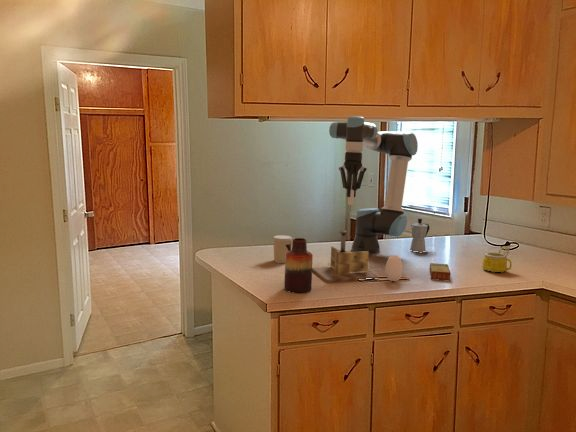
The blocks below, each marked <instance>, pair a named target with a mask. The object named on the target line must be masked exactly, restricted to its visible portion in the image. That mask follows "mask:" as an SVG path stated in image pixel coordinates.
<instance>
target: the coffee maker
mask: <svg viewBox="0 0 576 432" xmlns="http://www.w3.org/2000/svg"><path fill="white" fill-rule="evenodd" d="M422 221H423V218H418V219H417V222H416V223H412V224H411V225H410V226H411V227H410V228H411V236H412V239H411V245H410V248H409V251H410V250H412V251H418V252H423V251H426V239H425V238H427V235H428V233H429V231H430V225H429V224H428V223H424V222H422Z"/></svg>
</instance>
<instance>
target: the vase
mask: <svg viewBox="0 0 576 432" xmlns="http://www.w3.org/2000/svg"><path fill="white" fill-rule="evenodd" d="M313 256H314V255H313V253H312V252H310V251H309V250H308V247H307V239H306V238H304V237H295V238H294V237H293V238H292V247H291V251H288V252H287V253H286V254H285V263H284V290H285V291H286V290H287V291H286V292H288V291H290V292H289V293H292V292H294V293H293V294H306V293H309V292H311V291H312V283H313V277H312V276H313V272H312V268H313Z"/></svg>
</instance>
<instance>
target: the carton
mask: <svg viewBox="0 0 576 432" xmlns="http://www.w3.org/2000/svg"><path fill="white" fill-rule="evenodd" d="M428 269H429V270H430V271H429V275H430V276H431V277H430V280H432V279H439V280H438V281H443V280H449V281H448V282H451V270H450V266H449V264H447V263H433V262H430V263H429V268H428Z"/></svg>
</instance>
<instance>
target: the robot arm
mask: <svg viewBox="0 0 576 432" xmlns="http://www.w3.org/2000/svg"><path fill="white" fill-rule="evenodd" d="M328 132H329V135H330V136H329V137H331V138H333V139H340V140H341V139H342V140H345V151H346V152H345V153H344V162H343V165H341V166H339V167H338V171H339V172H340V176H341V184H342V188H343V189H345V190H346V197H347V205H350V206H353V205H354V201H355V200H354V198H356V196H357V195H356V193H357V190H359V189H360V188H361V186H362V182H363V179H364V176H365V173H366V171H367V170H368V169H367V167H364V166H363V162H362V161H363V149H364V147H363V146H365V147H366V148H367V149H368V150H371V151H374V152H376V153H377V152H378V153H381V154H385V155H388V158H389V159H390V160H391V161H390V167H389V176H388V182H387V188H386V196H385V203H384V206H382V207H381V211H380V209H379V208H378V207H372V208H371V207H370V208H369V207H367V208H360V209H358V210H357V211H356V215H355V233H354V234H355V236H354V239H353V241H352V244H351V252H362V251H369V255H373V254H378V253H381V252H380V251H381V249H380V248H381V247H380V243H379V240H378V234H379V235H384V236H389V237H399V236H401V235H402V234H403V233H404V232H405V230H406V227H407V223H408V220H407V219H408V217H407V215H406V214H405V210H404V209H403V208H402V207H403V201H404V199H403V198H404V194H405V186H406V178H407V173H408V172H407V171H408V165H409V162H410V161H411V160H412V159H413V158H412V157H413V156H415V155H417V152H418V147H419V145H418V139H417V137H416V134H414V133H413V132H410V131H379V130H378V127H377V125H376V124H375V123H372V122H367V121H365V118H364V117H363V116H357V115H356V116H353V115H352V116H351V115H349V116H348V117H347V121H346V122H343V121H342V122H339V121H337V122H335V121H334V122H332V123H331V124H330V125H329V131H328ZM345 170H346V171H345ZM346 175H347V176H346Z"/></svg>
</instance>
